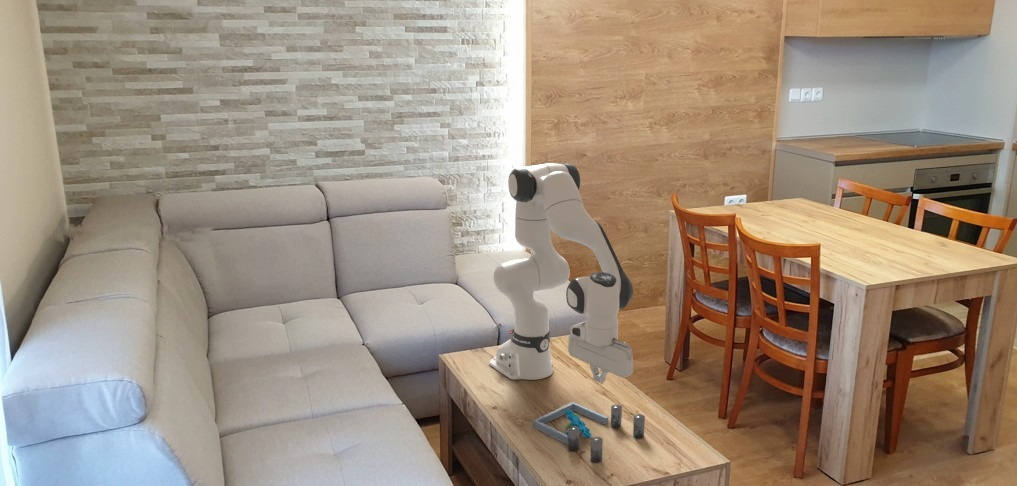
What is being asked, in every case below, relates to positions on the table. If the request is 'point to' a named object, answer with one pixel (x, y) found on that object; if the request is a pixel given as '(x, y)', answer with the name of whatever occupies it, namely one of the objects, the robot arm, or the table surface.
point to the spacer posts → (598, 441)
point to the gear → (577, 423)
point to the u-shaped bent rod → (541, 421)
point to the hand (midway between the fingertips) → (599, 380)
